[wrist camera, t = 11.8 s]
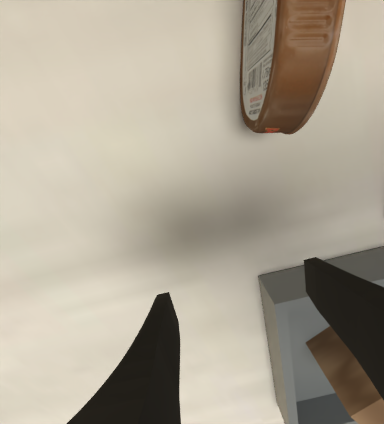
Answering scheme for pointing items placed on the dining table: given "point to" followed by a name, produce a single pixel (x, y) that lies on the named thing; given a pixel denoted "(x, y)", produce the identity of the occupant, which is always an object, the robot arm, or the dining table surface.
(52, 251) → the dining table surface
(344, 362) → the block
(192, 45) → the dining table surface
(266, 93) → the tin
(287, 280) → the bin
